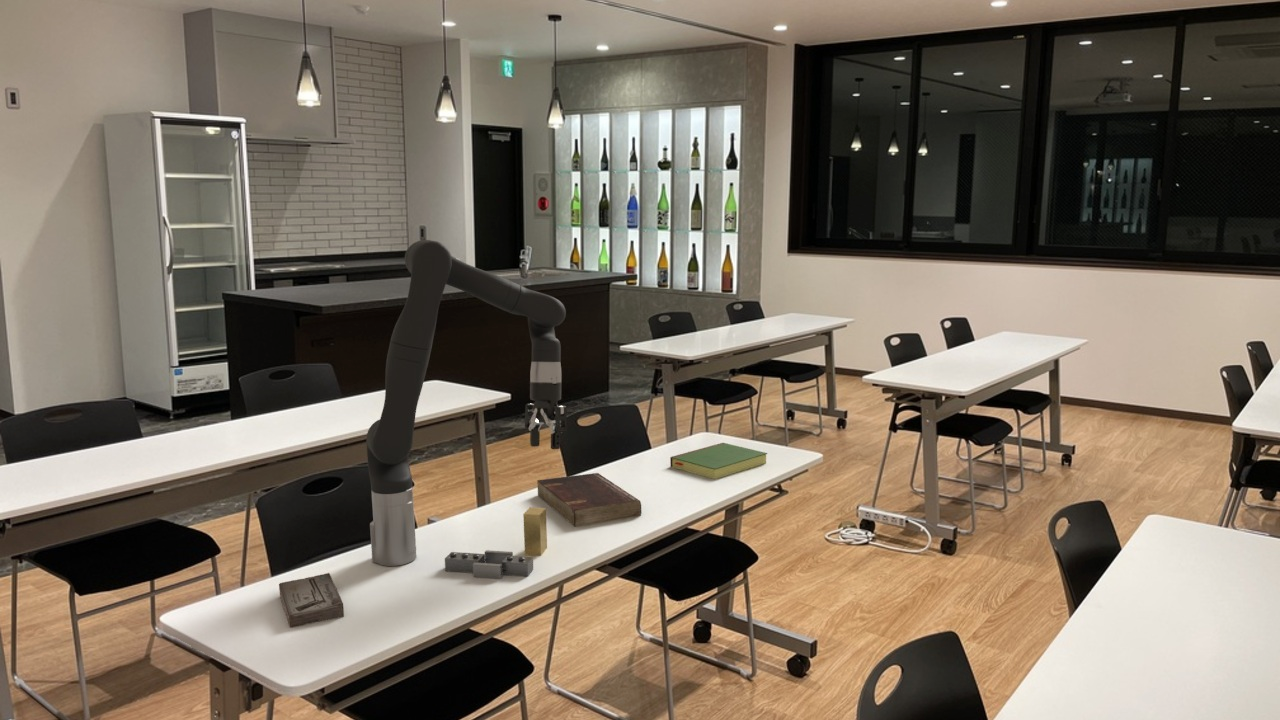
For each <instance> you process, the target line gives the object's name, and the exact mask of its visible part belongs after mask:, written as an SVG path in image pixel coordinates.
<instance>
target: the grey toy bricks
mask: <svg viewBox="0 0 1280 720" xmlns="http://www.w3.org/2000/svg"><path fill="white" fill-rule="evenodd" d="M444 569H445V570H444V572H455V573H469V574H472V576H473V578H480V579H481V578H483V579H496V580H497V579H498V580H500V579H502V578H503V576H512V577H513V576H515V577H516V576H517V577H529V576H530V575H531V573H532V572H533V571H534V557H533V556H527V555H524V556H523V555H514V553H513V551H507V550H506V551H505V550H501V551H500V550H489V549H488V550H485V551H484V553H477V552H475V553H474V552H473V553H472V552H458V551H457V552H456V551H451V552H449V554H448V555H447V556H446V557H445V558H444Z"/></svg>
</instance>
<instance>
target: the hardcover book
mask: <svg viewBox="0 0 1280 720" xmlns="http://www.w3.org/2000/svg"><path fill="white" fill-rule="evenodd" d="M767 455H768V453H767V452H764V451H760V450H756V449H752V448H751V449H750V448H747V447H743V446H739V445H734V444H730V443H725V442H720V443H717V444H713V445H710V446H705V447H702V448H698V449H694V450H691V451H688V452H683V453H680V454H676V455H673V456H670V460H669V461H670V462H669V463H670V468H674V469H677V470H681V471H685V472H689V473H692V474H696V475H699V476H701V477H702V476H703V477H706V478H710V479H714V480H717V479H719V478H722V477H725V476H729V475H733V474H735V473H739V472H743V471H745V470H749V469H751V468H755V467H759V466H762V465H765V464H767Z"/></svg>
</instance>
